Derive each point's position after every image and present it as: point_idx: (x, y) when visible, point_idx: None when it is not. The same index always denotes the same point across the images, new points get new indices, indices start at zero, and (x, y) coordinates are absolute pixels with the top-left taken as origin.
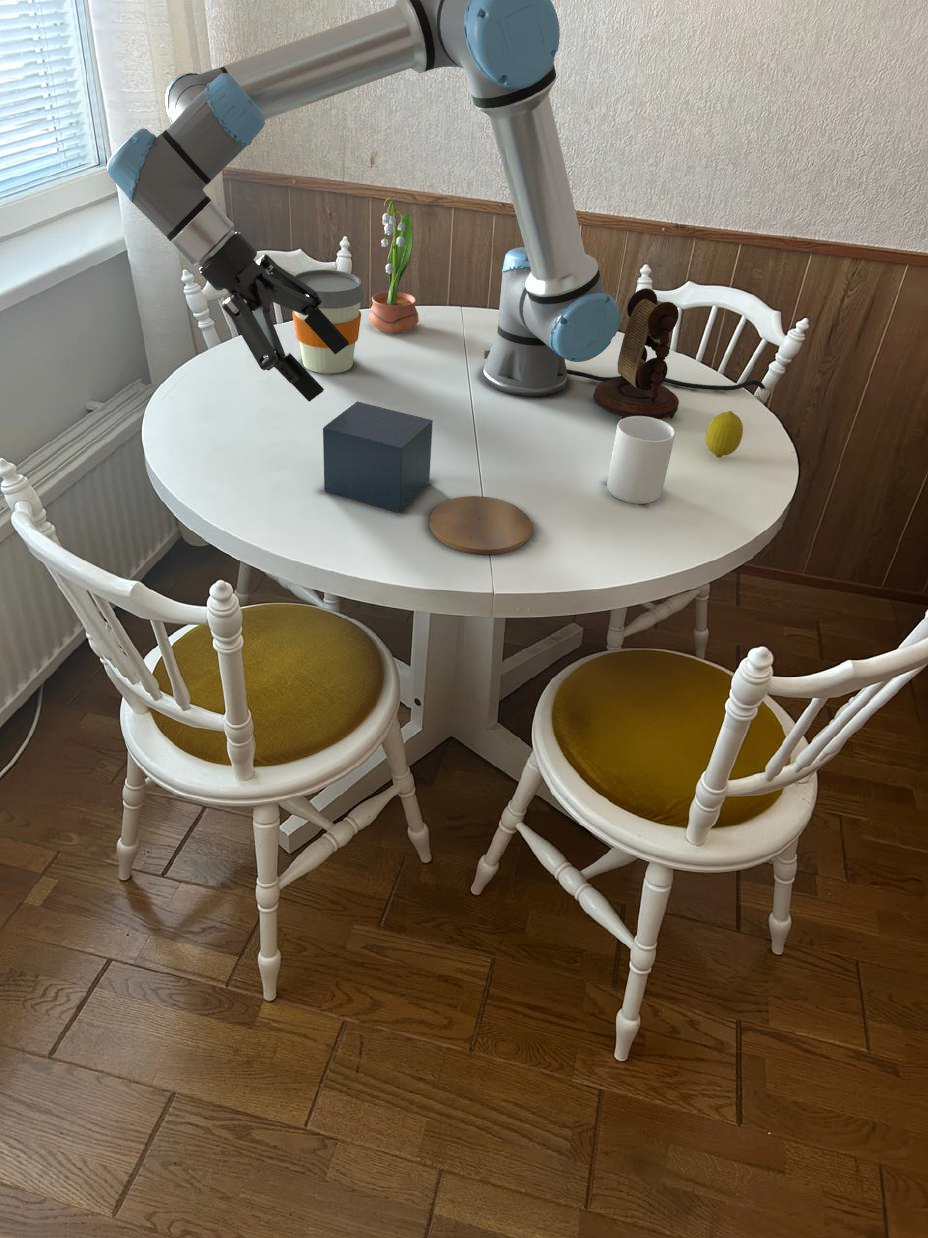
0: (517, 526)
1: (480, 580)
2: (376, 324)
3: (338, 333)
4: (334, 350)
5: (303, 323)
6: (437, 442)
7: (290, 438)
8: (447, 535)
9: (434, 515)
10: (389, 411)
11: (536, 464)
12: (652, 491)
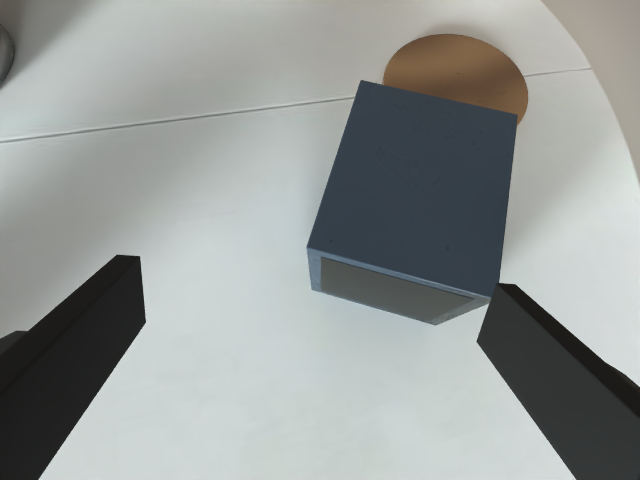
0: (450, 46)
1: (577, 81)
2: None
3: (104, 286)
4: (139, 322)
5: None
6: (203, 171)
7: (229, 459)
8: None
9: None
10: (345, 164)
11: (254, 42)
12: None
